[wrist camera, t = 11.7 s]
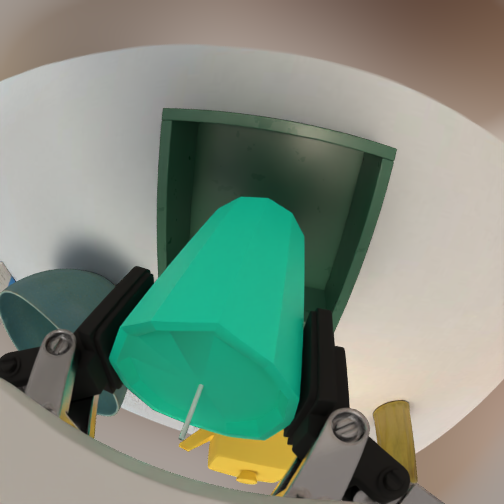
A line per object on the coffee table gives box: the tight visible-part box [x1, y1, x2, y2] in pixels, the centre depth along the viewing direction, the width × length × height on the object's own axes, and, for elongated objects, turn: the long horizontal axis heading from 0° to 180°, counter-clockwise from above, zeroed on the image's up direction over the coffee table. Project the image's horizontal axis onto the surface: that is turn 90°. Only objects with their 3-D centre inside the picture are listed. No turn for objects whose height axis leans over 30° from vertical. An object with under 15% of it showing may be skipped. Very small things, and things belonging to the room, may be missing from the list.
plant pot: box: [0, 269, 127, 416], centre depth 26 cm, size 18×18×12 cm
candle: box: [109, 197, 304, 441], centre depth 11 cm, size 6×6×12 cm
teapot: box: [179, 429, 296, 484], centre depth 34 cm, size 20×12×12 cm, turn 74°
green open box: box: [157, 108, 397, 332], centre depth 20 cm, size 15×15×6 cm
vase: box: [373, 401, 417, 484], centre depth 27 cm, size 6×6×14 cm
